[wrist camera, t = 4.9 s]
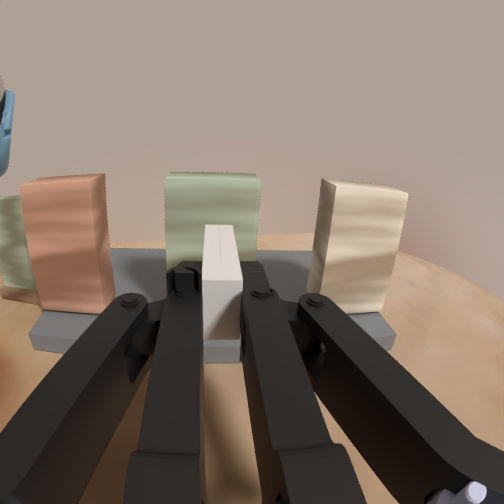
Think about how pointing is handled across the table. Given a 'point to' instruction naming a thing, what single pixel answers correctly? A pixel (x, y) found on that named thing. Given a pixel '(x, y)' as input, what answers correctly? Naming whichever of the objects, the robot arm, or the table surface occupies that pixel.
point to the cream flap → (356, 243)
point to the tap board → (155, 289)
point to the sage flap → (209, 212)
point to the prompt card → (15, 254)
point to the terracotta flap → (69, 242)
